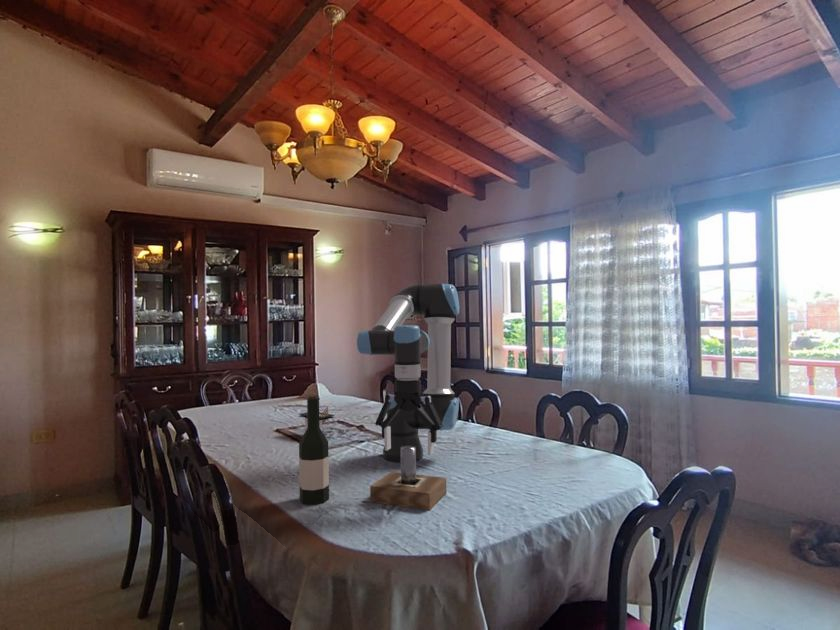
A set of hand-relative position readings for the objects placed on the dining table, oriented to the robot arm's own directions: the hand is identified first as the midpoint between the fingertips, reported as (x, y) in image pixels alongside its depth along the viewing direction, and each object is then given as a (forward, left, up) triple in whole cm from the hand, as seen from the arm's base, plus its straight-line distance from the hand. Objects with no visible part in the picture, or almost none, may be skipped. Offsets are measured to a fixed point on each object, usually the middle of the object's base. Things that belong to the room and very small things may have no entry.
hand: (409, 451), depth 148 cm
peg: (0, 0, -13) cm, 13 cm away
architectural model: (-67, +54, -14) cm, 88 cm away
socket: (0, 0, -13) cm, 13 cm away
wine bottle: (-25, -11, -13) cm, 31 cm away
